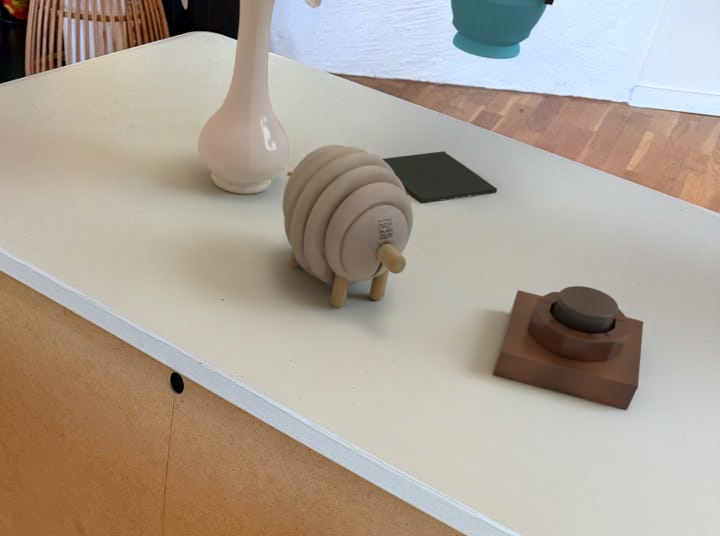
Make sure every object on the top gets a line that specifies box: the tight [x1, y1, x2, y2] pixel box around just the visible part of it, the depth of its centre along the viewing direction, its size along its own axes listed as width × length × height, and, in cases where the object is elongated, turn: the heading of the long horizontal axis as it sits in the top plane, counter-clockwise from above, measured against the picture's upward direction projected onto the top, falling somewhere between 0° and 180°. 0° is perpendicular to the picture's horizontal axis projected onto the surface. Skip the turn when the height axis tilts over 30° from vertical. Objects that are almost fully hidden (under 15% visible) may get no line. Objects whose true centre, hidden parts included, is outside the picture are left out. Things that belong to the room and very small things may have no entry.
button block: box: [492, 289, 644, 411], centre depth 77 cm, size 11×11×4 cm
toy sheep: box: [282, 144, 414, 308], centre depth 79 cm, size 11×17×11 cm, turn 31°
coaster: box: [382, 150, 498, 204], centre depth 100 cm, size 10×10×1 cm
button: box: [552, 285, 619, 334], centre depth 75 cm, size 5×5×2 cm
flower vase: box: [181, 0, 322, 195], centre depth 85 cm, size 13×18×25 cm
